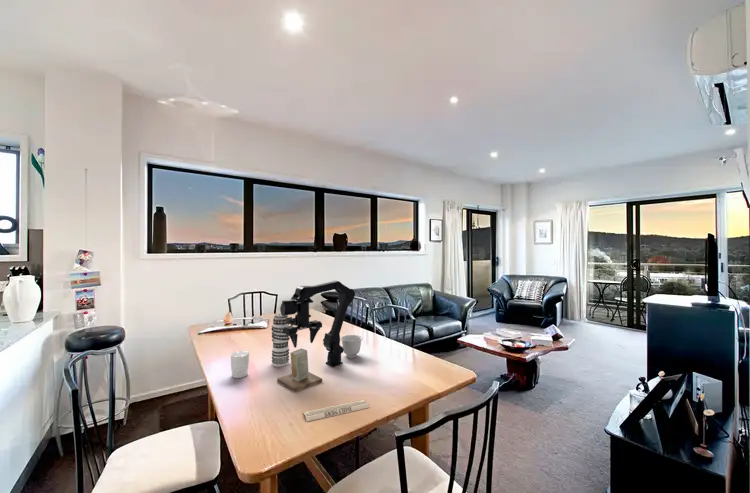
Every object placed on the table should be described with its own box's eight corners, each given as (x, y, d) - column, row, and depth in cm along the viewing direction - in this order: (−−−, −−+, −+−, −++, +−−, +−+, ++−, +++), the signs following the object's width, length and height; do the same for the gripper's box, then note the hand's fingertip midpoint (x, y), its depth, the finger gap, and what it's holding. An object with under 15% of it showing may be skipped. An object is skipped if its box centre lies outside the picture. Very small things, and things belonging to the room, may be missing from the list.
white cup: (229, 379, 144) (229, 357, 144) (231, 372, 152) (232, 351, 152) (247, 377, 146) (248, 355, 146) (249, 371, 154) (250, 350, 154)
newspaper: (362, 402, 126) (362, 398, 126) (370, 411, 120) (370, 406, 120) (302, 415, 116) (302, 410, 116) (307, 425, 109) (307, 420, 109)
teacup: (364, 351, 185) (364, 334, 185) (360, 360, 170) (361, 341, 170) (343, 350, 186) (343, 333, 186) (338, 359, 171) (338, 340, 171)
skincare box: (303, 374, 146) (302, 347, 145) (309, 377, 143) (308, 350, 143) (291, 379, 141) (289, 352, 141) (296, 382, 138) (295, 354, 138)
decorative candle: (266, 364, 163) (267, 315, 163) (280, 359, 171) (280, 311, 171) (280, 368, 158) (281, 317, 158) (293, 362, 166) (294, 313, 166)
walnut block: (303, 374, 152) (304, 369, 152) (322, 384, 143) (322, 378, 143) (277, 384, 142) (277, 378, 142) (294, 394, 133) (294, 388, 133)
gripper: (309, 307, 166) (309, 337, 167) (276, 313, 153) (277, 346, 153) (322, 310, 159) (323, 341, 159) (289, 317, 145) (290, 351, 145)
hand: (303, 345), depth 154 cm, fingers open, 9 cm apart
